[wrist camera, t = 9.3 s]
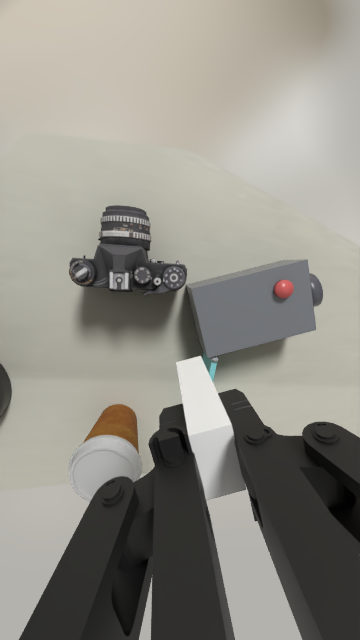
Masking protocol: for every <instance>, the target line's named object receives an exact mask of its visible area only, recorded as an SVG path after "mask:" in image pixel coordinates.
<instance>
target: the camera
mask: <svg viewBox="0 0 360 640" xmlns="http://www.w3.org/2000/svg"><path fill="white" fill-rule="evenodd" d="M101 225H102V228H101V232H99V234H100V239H99V240H101V244H100V245H99V246H97V250H96V253H95V257H94V259H85V256H84V255H83V258H82V259H80V258H72V260H71V261H70V270H69V274H70V277H71V279H72V281H74V282H75V283H76V284H77V285H80V286H83V287H102V288H109V290H110V291H121V292H131V291H133V290H132V289H142V290H149V291H146V292H144V293H143V295H148V294H162V293H164V292H166V291H176V290H179V289H180V288H182V287H183V286H184V284H185V282H186V277H187V268H186V267H185V265H183V264H180V261H176V264H166V263H164V261H157V263H156V259H150V262H149V261H148V255H147V251H148V250H150V242H151V236H150V233H149V229H150V222H149V217H148V216H146V212H145V211H144V210H142V209H139V208H135V207H129V206H108V207H106V211H105V212H103V217H102V218H101ZM178 262H179V263H178Z"/></svg>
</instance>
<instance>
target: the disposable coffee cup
mask: <svg viewBox="0 0 360 640" xmlns="http://www.w3.org/2000/svg"><path fill="white" fill-rule="evenodd" d="M141 469H142V464H141V459H140V456H139V452H138V433H137V418H136V415H135V413H134V411H133V410H132V409H131V408H129V407H127V406H125V405H120V404H117V405H112V406H109V407H108V408H106V409H105V410H104V411H103V413H102V414H101V416H100V417H99V419H98V421H97V422H96V424H95V425H94V427H93V428H92V430H91V431H90V433H89V434H88V436H87V438H86V439H85V441H84V442H83V444H81V445H80V446H79V447H78V448H77V449H76V450H75V452H74V453H73V455H72V457H71V459H70V463H69V473H70V475H69V477H70V483H71V485H72V487H73V489H74V490H75V492H76V493H77V494H78V495H80V496H81V497H82V498H84V499H85V500H88V501H90V502H91V500H92V498H93V496H94V494H95V493H96V491H97V490H98V489H99V488H100V487H101V486H102V485H103V484H104V483H105V482H107V481H109V480H110V479H112V478H115V477H119V476H125V477H128V478H130V479H131V480H132V481H133V482H135V481H137V480H138V479H139V478H140V475H141Z"/></svg>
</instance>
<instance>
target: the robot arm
mask: <svg viewBox="0 0 360 640" xmlns="http://www.w3.org/2000/svg"><path fill="white" fill-rule="evenodd" d="M176 365H177V371H178V377H179V383H180V389H181V395H182V401H183V404H179V405H176V406H172V407H168V408H164V409H163V411H162V413H161V414H160V416H159V424H160V425H159V430H158V431H157V432H156V433H154V434H153V436H152V437H151V438H150V441H149V444H148V445H149V448H150V451H151V454H152V457H153V460H154V463H155V467H154V468H153V469H152V470H151V471H150V472H149V473H148V474H147V475H145V476H144V477H142V478H140V479H138V480H137V481H135V482H133V481H132V480H131V479H130V478H128V477H125V476H119V477H115V478H112V479H110V480H109V481H107V482H105V483H104V484H103V485H102V486H101V487H100V488H99V489H98V490H97V491H96V493H95V494H94V496H93V498H92V500H91V502H90V504H89V506H88V508H87V510H86V511H85V513H84V515H83V517H82V519H81V521H80V523H79V525H78V527H77V529H76V531H75V533H74V534H73V537H72V538H71V540H70V542H69V544H68V546H67V548H66V550H65V552H64V554H63V556H62V558H61V560H60V562H59V563H58V565H57V567H56V569H55V571H54V573H53V575H52V577H51V579H50V581H49V583H48V585H47V587H46V589H45V590H44V592H43V594H42V596H41V598H40V600H39V602H38V604H37V606H36V608H35V610H34V612H33V614H32V616H31V618H30V619H29V621H28V623H27V625H26V627H25V629H24V631H23V633H22V635H21V637H20V639H19V640H139V635H140V630H141V626H142V621H143V616H144V611H145V607H146V602H147V597H148V592H149V588H150V583H151V578H152V619H151V640H235V637H234V633H233V627H232V622H231V617H230V613H229V608H228V603H227V598H226V593H225V588H224V583H223V578H222V573H221V568H220V563H219V559H218V553H217V548H216V543H215V538H214V534H213V529H212V524H211V519H210V514H209V511H208V507H207V503H206V500H209V499H213V498H217V497H221V496H224V495H227V494H231V493H235V492H239V491H242V490H246V487H247V489H248V492H249V496H250V501H251V506H252V510H253V515H254V519H255V521H258V523H259V526H260V529H261V531H262V534H263V536H264V539H265V542H266V545H267V547H268V550H269V552H270V555H271V558H272V560H273V563H274V565H275V568H276V571H277V574H278V576H279V578H280V581H281V584H282V586H283V589H284V592H285V595H286V597H287V600H288V602H289V605H290V608H291V610H292V613H293V616H294V618H295V621H296V624H297V626H298V629H299V632H300V634H301V637H302V639H303V640H360V438H359V437H357V436H356V435H354V434H352V433H351V432H349V431H347V430H346V429H344V428H343V427H340V426H338V425H336V424H334V423H329V422H315V423H311V424H309V425H307V426H306V427H305V428H304V430H303V432H302V435H303V436H283V435H278V434H276V433H275V432H274V431H273V430H272V429H271V428H270V427H267V426H265V425H264V424H263V422H262V421H261V419H260V418H259V416H258V415H257V413H256V412H255V410H254V409H253V407H252V406H251V404H250V403H249V401H248V400H247V398H246V396H245V395H244V393H242V392H240V391H239V390H237V389H233V390H229V391H225V392H222V393H217V391H216V389H215V386H214V384H213V382H212V380H211V377H210V375H209V373H208V371H207V369H206V366H205V364H204V362H203V360H202V358H201V356H198V357H194V358H191V359H187V360H183V361H179V362H176ZM10 398H11V384H10V380H9V377H8V375H7V373H6V371H5V369H4V368H3V366H2V365H1V364H0V416H1V415H2V414H3V413H4V412H5V410H6V409H7V407H8V404H9V402H10ZM245 484H246V486H245Z"/></svg>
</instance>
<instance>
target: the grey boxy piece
mask: <svg viewBox="0 0 360 640" xmlns="http://www.w3.org/2000/svg"><path fill="white" fill-rule="evenodd" d="M186 287H187V291H188V295H189V299H190V304H191V308H192V312H193V316H194V320H195V325H196V329H197V333H198V337H199V342H200V344H201V346H202V348H203V350H204V352H205V354H206V356H207V358H210V357H214V356H218V355H222V354H225V353H229V352H233V351H237V350H241V349H245V348H248V347H252V346H256V345H260V344H264V343H268V342H271V341H275V340H279V339H283V338H287V337H291V336H294V335H298V334H302V333H306V332H310V331H314V330H316V323H315V315H314V307H315V306H318V305H320V304H321V302H322V299H323V290H322V286H321V283H320V281H319V280H318V278H317V277H316V276H315V275H313V274H309V268H308V260H284V261H279V262H275V263H271V264H267V265H263V266H259V267H255V268H251V269H247V270H243V271H239V272H236V273H232V274H228V275H224V276H220V277H216V278H212V279H208V280H204V281H200V282H196V283H192V284H188V285H186Z"/></svg>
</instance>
